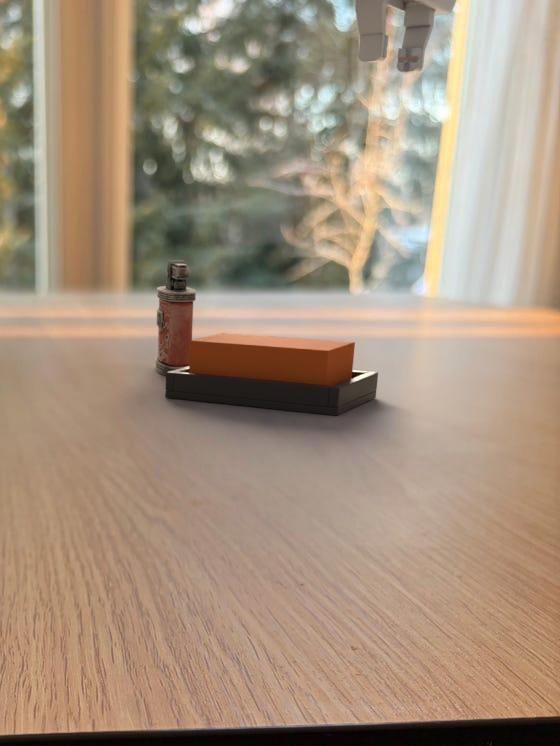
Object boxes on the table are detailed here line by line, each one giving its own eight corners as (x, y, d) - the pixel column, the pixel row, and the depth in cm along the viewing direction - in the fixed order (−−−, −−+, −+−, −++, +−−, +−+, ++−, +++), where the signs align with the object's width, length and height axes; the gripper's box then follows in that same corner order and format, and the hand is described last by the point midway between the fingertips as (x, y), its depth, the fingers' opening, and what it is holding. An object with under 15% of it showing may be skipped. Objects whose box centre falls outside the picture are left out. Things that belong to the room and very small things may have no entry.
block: (350, 391, 87) (355, 342, 86) (324, 402, 83) (328, 350, 81) (219, 379, 93) (221, 332, 92) (188, 389, 89) (190, 340, 87)
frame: (375, 397, 88) (378, 372, 87) (336, 415, 81) (339, 388, 80) (213, 382, 96) (214, 358, 95) (164, 397, 89) (165, 372, 88)
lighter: (151, 364, 106) (153, 258, 102) (184, 363, 106) (187, 258, 102) (162, 377, 99) (165, 263, 95) (198, 376, 99) (202, 263, 95)
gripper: (411, -186, 70) (388, 51, 75) (488, -116, 86) (464, 75, 91) (320, -169, 73) (305, 57, 79) (410, -105, 89) (392, 79, 94)
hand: (391, 67), depth 85 cm, fingers open, 8 cm apart
